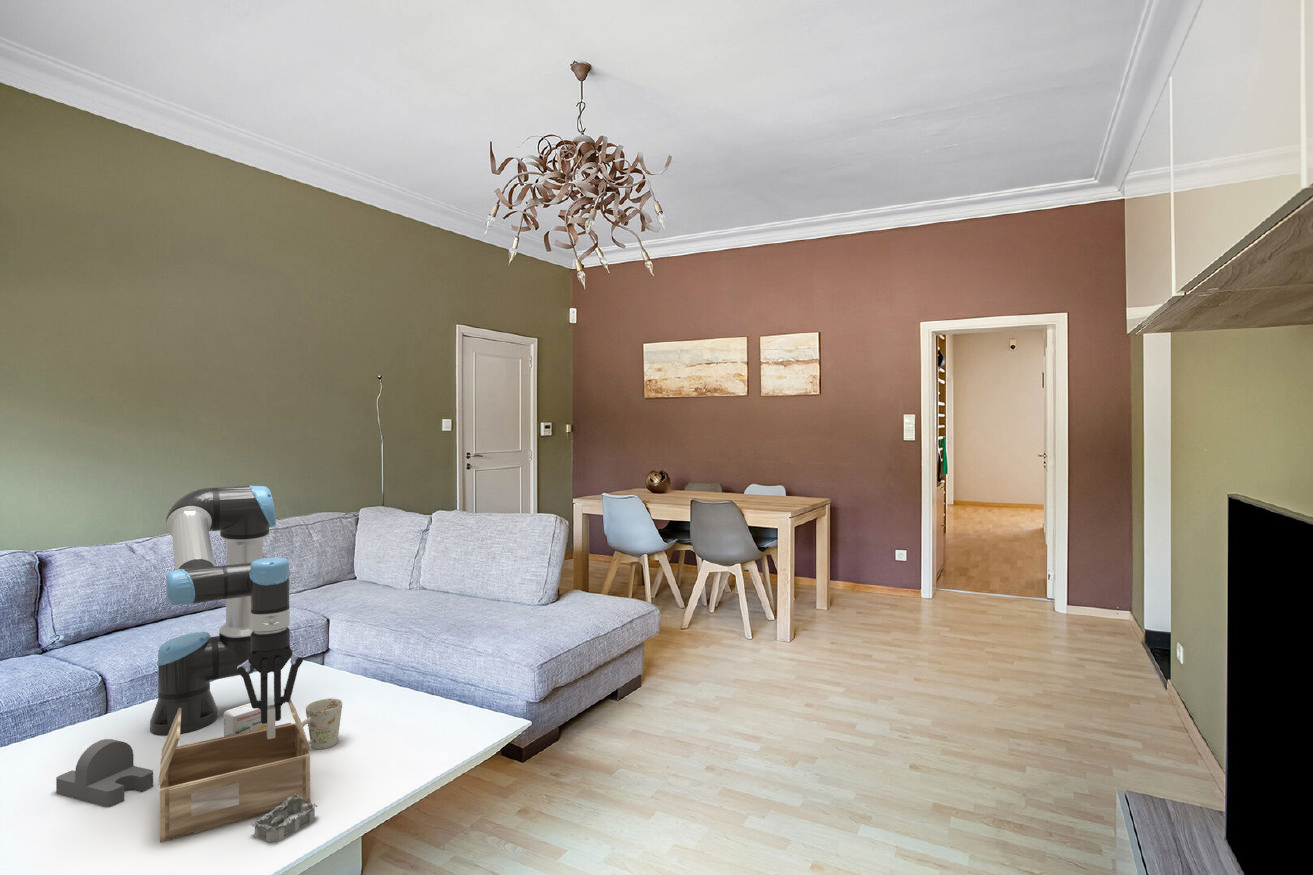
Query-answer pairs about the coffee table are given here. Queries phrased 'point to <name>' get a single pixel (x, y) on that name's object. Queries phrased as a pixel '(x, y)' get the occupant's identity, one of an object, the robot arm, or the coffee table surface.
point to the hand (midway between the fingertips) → (271, 736)
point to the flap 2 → (298, 723)
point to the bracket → (104, 775)
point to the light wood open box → (232, 779)
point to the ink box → (242, 720)
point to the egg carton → (276, 824)
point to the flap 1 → (170, 746)
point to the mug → (323, 722)
